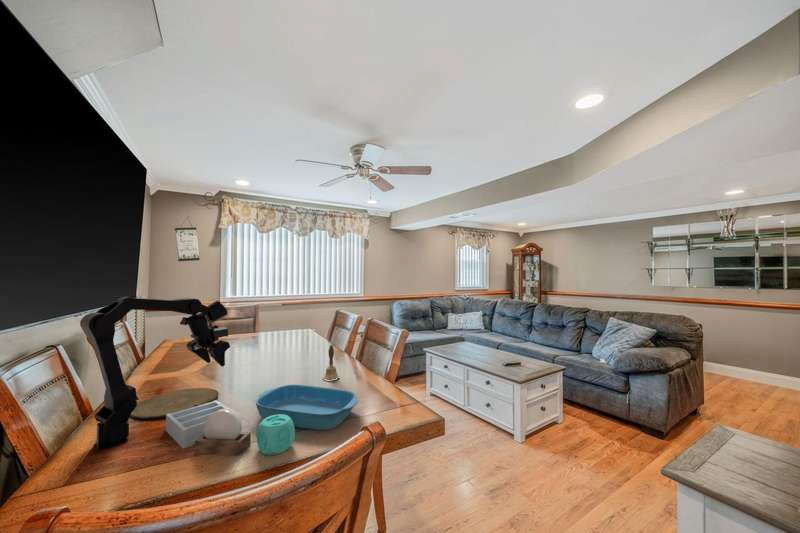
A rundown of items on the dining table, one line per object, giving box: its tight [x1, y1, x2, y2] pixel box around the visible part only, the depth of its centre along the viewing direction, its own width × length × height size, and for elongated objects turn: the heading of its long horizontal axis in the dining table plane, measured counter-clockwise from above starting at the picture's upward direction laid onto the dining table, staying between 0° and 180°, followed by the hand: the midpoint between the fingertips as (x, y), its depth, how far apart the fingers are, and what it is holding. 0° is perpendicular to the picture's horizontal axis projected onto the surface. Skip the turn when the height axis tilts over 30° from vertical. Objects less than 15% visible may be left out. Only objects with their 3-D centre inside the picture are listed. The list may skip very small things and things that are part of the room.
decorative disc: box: [130, 387, 220, 420], centre depth 123 cm, size 29×3×30 cm
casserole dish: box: [255, 384, 359, 431], centre depth 113 cm, size 37×22×7 cm, turn 76°
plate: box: [204, 408, 243, 440], centre depth 92 cm, size 2×10×10 cm, turn 86°
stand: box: [194, 431, 252, 456], centre depth 92 cm, size 13×6×4 cm, turn 86°
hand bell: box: [322, 344, 340, 380], centre depth 154 cm, size 8×8×16 cm
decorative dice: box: [255, 414, 296, 456], centre depth 93 cm, size 8×8×8 cm
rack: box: [165, 399, 230, 450], centre depth 103 cm, size 15×17×5 cm
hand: (216, 364), depth 122 cm, fingers open, 9 cm apart
